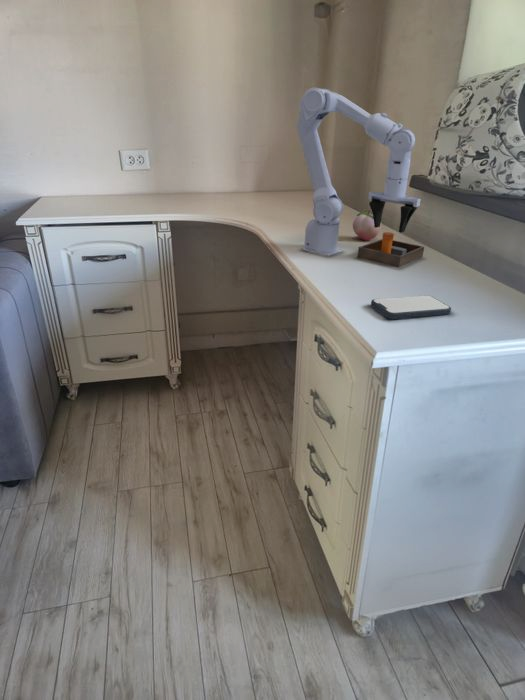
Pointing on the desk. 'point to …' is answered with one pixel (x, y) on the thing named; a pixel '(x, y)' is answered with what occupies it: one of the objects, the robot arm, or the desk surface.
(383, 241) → the glue stick
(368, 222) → the decorative fruit
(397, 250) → the eraser
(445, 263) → the desk surface
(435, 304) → the phone case
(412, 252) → the box
